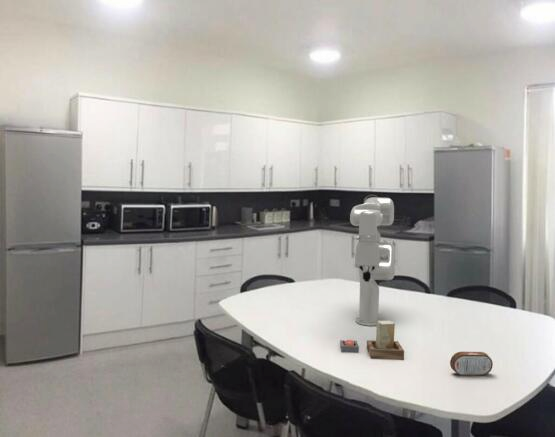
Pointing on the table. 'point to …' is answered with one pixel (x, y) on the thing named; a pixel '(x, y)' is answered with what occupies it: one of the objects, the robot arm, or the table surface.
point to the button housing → (349, 347)
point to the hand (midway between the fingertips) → (366, 281)
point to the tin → (471, 363)
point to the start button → (349, 342)
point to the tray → (385, 351)
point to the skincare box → (385, 335)
